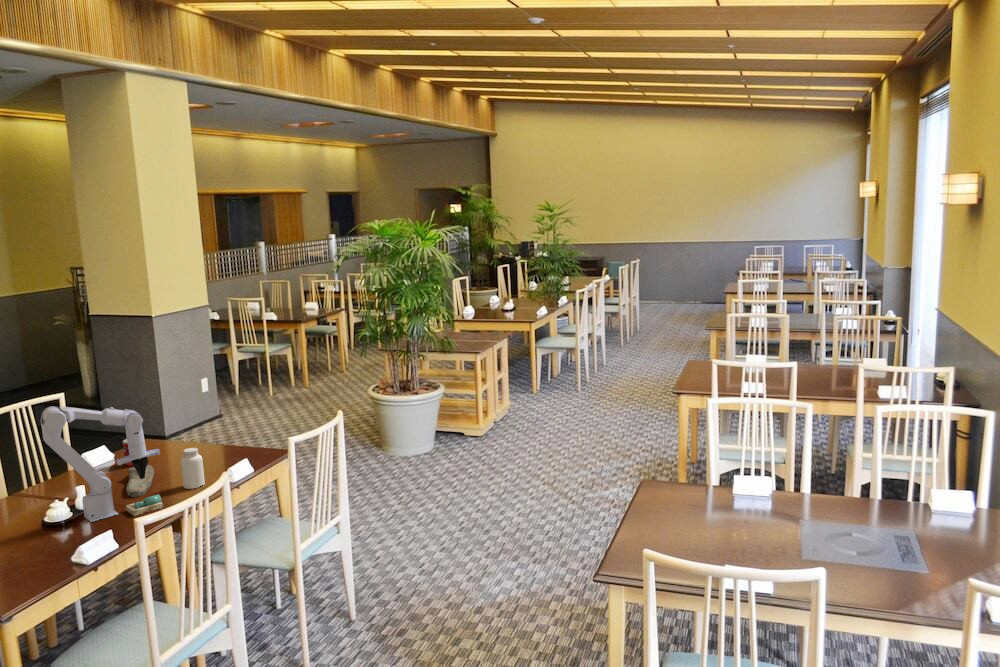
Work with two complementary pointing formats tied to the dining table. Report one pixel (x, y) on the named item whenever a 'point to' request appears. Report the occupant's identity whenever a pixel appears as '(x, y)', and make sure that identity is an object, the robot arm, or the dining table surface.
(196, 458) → the pill bottle
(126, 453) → the canned food
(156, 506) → the cradle
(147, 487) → the grey rock slab
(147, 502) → the bottle
